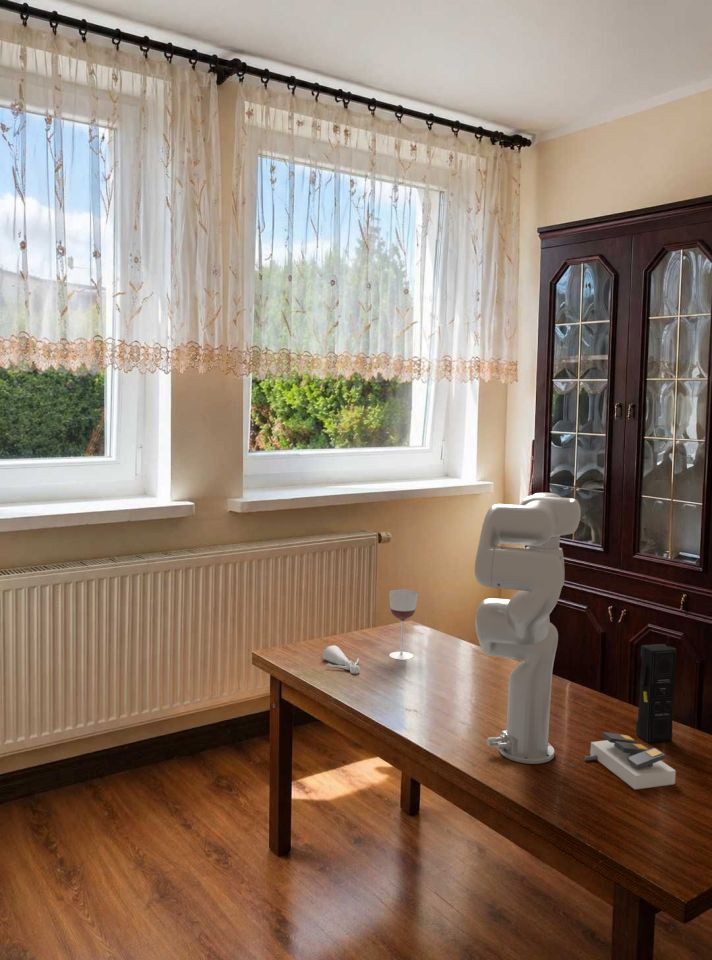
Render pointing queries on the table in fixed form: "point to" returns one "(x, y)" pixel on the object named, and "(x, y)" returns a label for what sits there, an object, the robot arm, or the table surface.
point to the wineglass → (402, 614)
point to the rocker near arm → (617, 738)
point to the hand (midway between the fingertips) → (540, 614)
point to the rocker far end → (646, 758)
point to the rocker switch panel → (631, 767)
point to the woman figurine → (339, 659)
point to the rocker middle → (630, 747)
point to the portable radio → (656, 692)
